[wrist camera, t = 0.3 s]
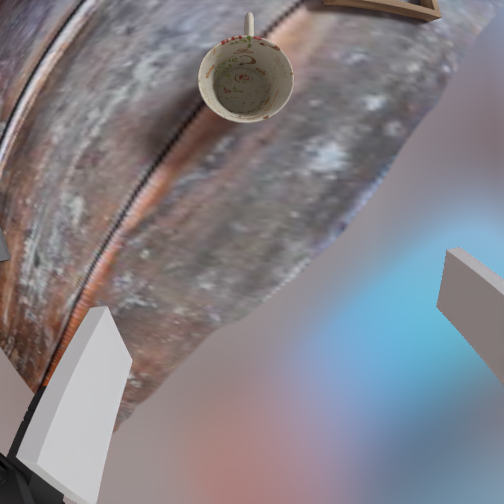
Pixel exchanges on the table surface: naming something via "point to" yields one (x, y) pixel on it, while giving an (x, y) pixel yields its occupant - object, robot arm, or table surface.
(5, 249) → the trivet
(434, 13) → the wooden frame
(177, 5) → the table surface
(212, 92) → the mug
